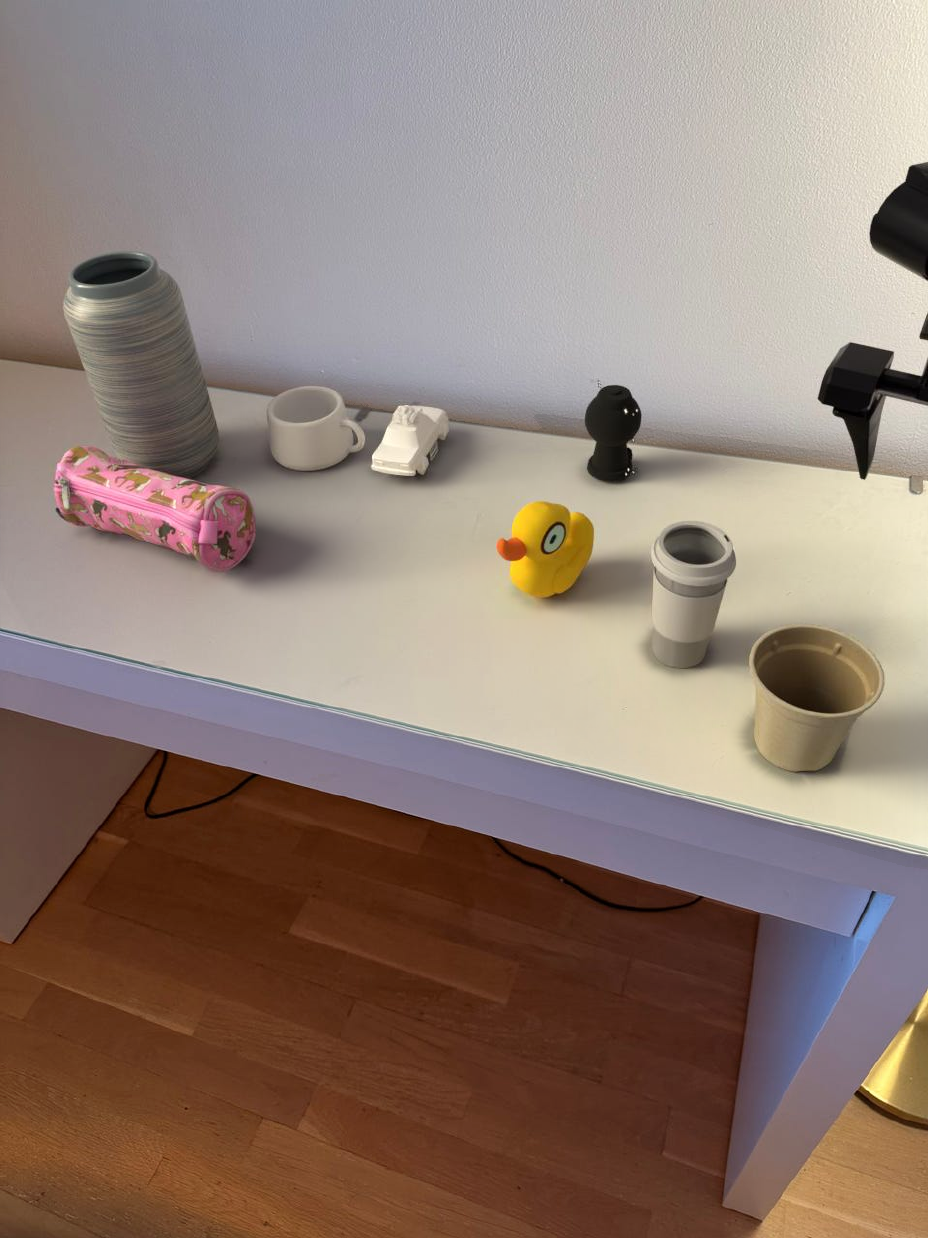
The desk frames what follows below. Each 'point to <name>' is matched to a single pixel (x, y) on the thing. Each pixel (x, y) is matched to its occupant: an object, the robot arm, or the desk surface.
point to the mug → (311, 429)
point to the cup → (688, 589)
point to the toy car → (410, 440)
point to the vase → (142, 362)
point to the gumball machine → (612, 432)
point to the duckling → (547, 548)
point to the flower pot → (810, 692)
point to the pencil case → (155, 507)
